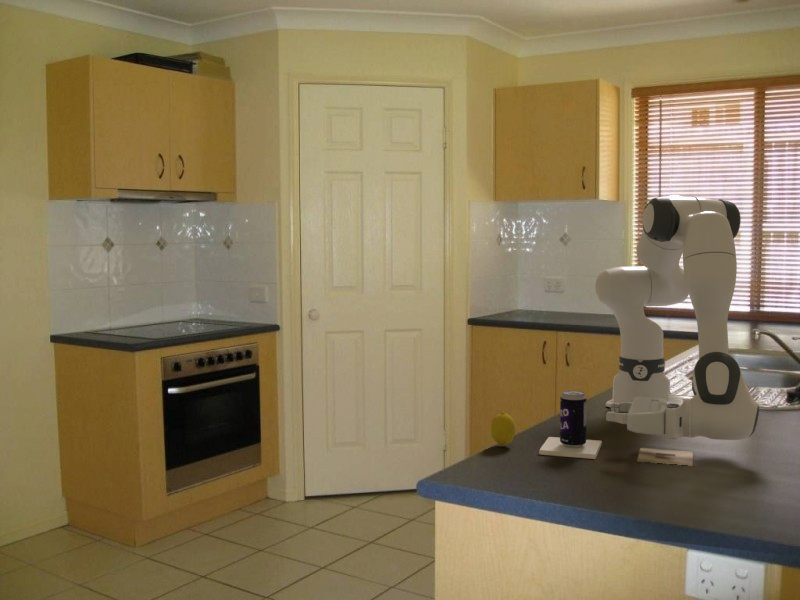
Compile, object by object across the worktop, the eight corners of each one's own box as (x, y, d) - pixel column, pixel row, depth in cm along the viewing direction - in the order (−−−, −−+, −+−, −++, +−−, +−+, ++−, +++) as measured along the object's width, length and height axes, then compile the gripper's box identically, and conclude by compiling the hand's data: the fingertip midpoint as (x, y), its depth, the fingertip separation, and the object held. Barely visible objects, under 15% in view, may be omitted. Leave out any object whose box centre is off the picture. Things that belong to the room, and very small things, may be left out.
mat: (548, 441, 189) (548, 436, 189) (601, 445, 185) (601, 440, 184) (539, 454, 177) (539, 449, 177) (595, 459, 173) (595, 454, 173)
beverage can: (567, 441, 185) (568, 389, 184) (590, 445, 181) (591, 391, 180) (555, 446, 180) (555, 392, 179) (578, 450, 177) (578, 396, 176)
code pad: (640, 448, 181) (640, 447, 181) (692, 452, 177) (692, 451, 177) (636, 461, 171) (636, 460, 171) (692, 466, 167) (692, 465, 167)
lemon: (501, 442, 188) (501, 408, 188) (520, 446, 184) (520, 411, 184) (485, 446, 184) (485, 412, 184) (505, 451, 180) (505, 415, 180)
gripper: (677, 392, 182) (613, 388, 187) (674, 410, 163) (603, 406, 168) (676, 419, 183) (613, 415, 187) (673, 441, 163) (603, 436, 168)
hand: (608, 411), depth 177 cm, fingers open, 8 cm apart
